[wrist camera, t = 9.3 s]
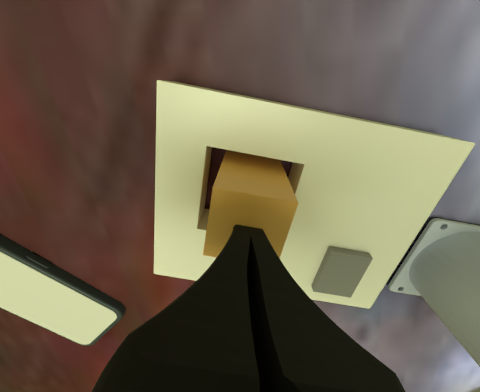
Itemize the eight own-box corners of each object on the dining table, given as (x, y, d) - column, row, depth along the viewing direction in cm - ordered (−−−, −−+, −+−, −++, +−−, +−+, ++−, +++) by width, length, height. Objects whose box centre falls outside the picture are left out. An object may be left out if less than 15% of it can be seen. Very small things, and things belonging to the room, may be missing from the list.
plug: (279, 159, 17) (298, 202, 10) (267, 205, 18) (276, 267, 12) (226, 149, 16) (212, 187, 10) (218, 196, 18) (202, 255, 12)
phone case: (133, 301, 25) (-20, 216, 20) (126, 315, 24) (-40, 226, 19) (96, 336, 28) (-45, 269, 23) (88, 350, 27) (-64, 281, 22)
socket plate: (435, 133, 15) (485, 145, 12) (354, 280, 21) (373, 315, 18) (174, 81, 15) (152, 79, 11) (166, 249, 21) (150, 279, 17)
